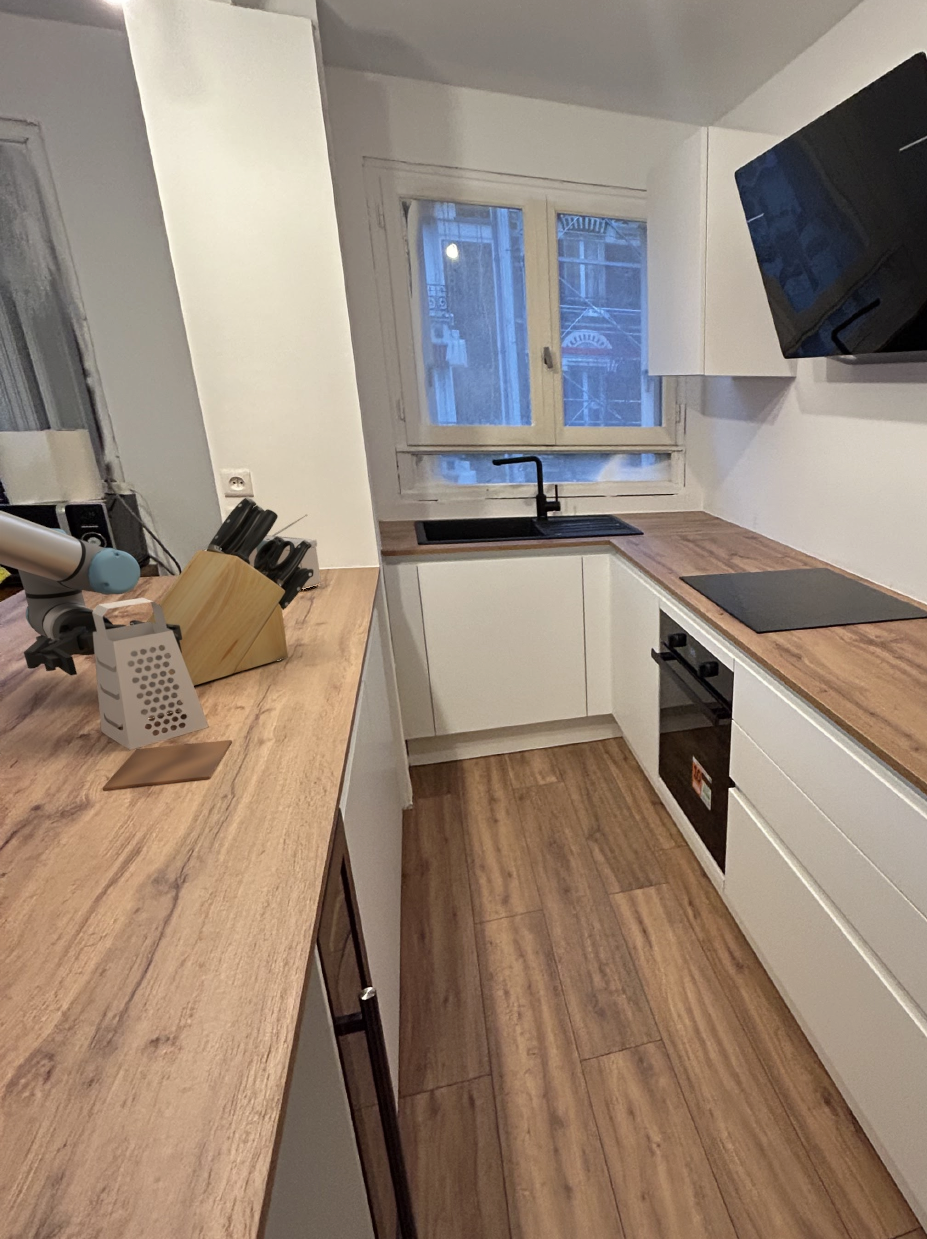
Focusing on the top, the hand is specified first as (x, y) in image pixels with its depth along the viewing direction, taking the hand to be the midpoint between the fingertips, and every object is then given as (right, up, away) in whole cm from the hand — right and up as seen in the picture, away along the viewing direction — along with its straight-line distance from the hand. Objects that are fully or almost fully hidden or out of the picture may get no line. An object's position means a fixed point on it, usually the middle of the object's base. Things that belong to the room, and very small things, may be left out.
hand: (127, 655), depth 111 cm
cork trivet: (+14, -15, -10) cm, 23 cm away
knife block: (-2, -2, +28) cm, 28 cm away
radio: (-27, +21, +91) cm, 97 cm away
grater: (+4, -12, +1) cm, 12 cm away
